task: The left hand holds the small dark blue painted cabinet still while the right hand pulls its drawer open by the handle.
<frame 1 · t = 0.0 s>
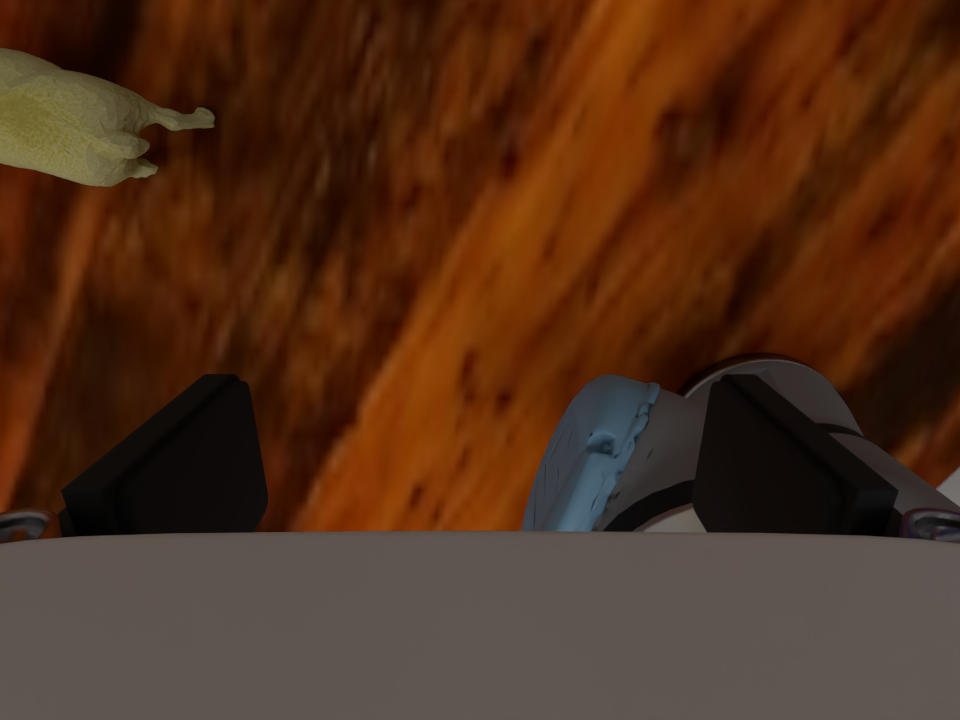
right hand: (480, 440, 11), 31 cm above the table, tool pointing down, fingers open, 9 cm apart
toy: (90, 112, 37), on the table
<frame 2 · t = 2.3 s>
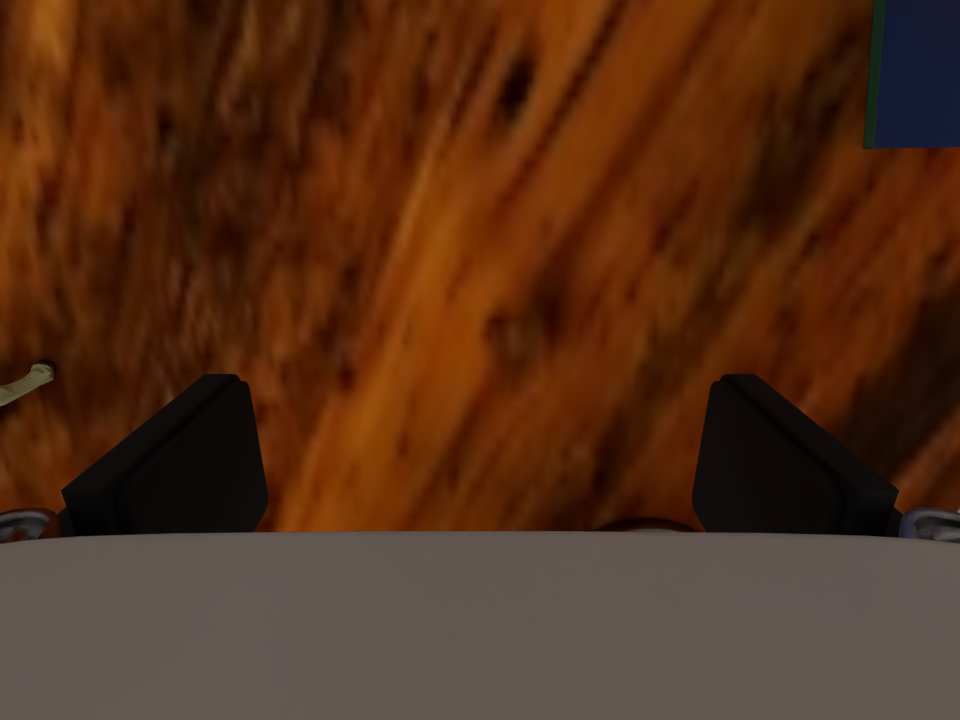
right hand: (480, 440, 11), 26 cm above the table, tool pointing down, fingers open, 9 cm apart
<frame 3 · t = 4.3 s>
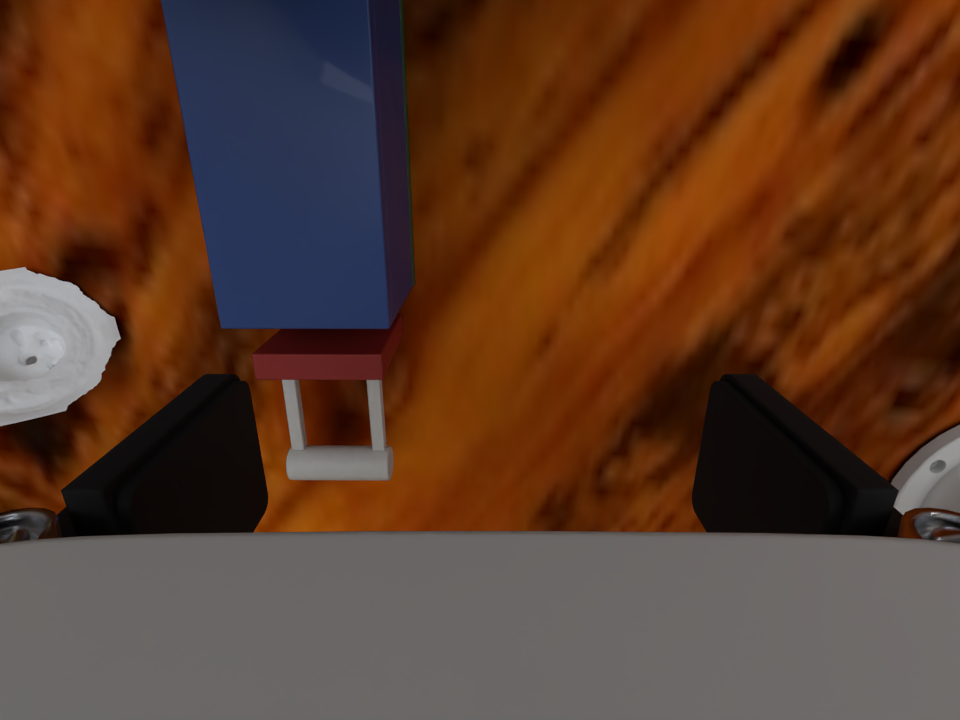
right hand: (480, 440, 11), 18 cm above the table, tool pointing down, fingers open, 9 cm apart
seashell: (59, 325, 30), on the table
cabinet: (336, 99, 25), on the table, touching left hand
drawer: (326, 245, 24), point 4 cm above the table, slide at 1.4 cm
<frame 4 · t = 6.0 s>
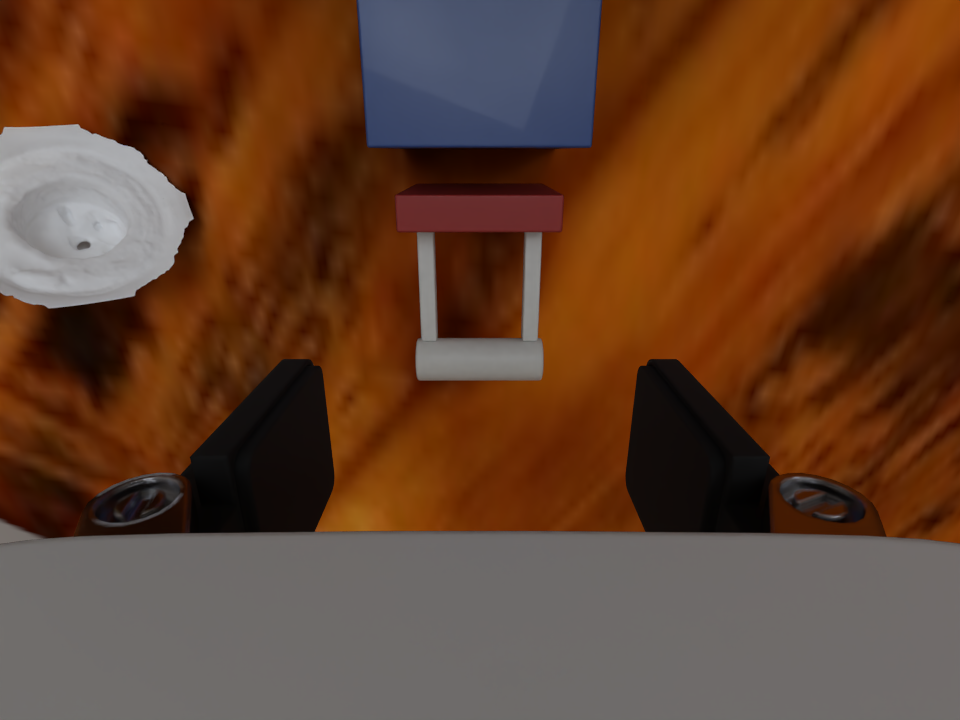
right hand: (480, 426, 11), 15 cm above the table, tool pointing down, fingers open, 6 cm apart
seashell: (116, 206, 24), on the table
drawer: (479, 67, 19), point 4 cm above the table, slide at 1.4 cm
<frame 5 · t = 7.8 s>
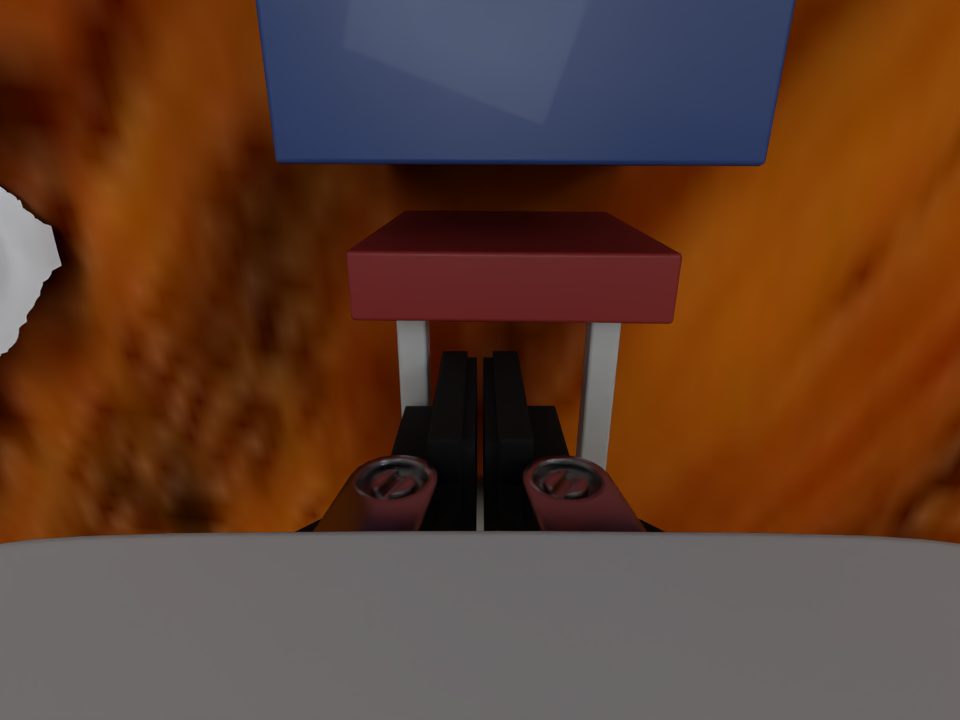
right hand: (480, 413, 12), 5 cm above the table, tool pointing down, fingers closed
drawer: (513, 7, 10), point 4 cm above the table, slide at 1.3 cm, touching right hand
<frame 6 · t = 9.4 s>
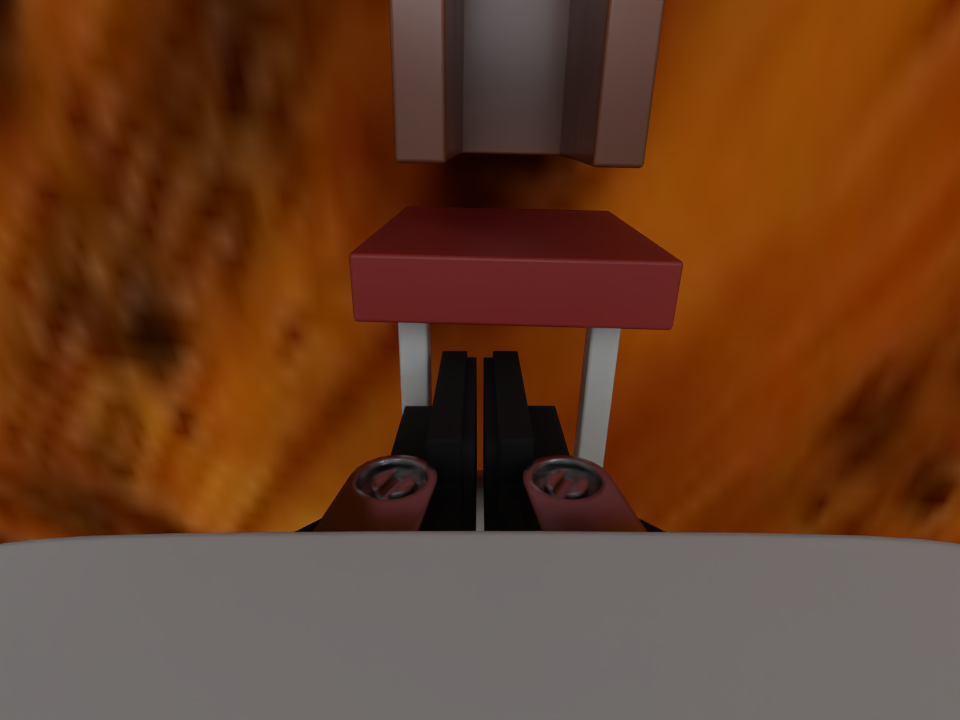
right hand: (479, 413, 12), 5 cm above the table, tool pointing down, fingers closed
drawer: (519, 6, 10), point 4 cm above the table, slide at 8.0 cm, touching right hand
when the left hand's fingers open (2 cm above the table, at t = 10.9 s): cabinet stays where it is, on the table.
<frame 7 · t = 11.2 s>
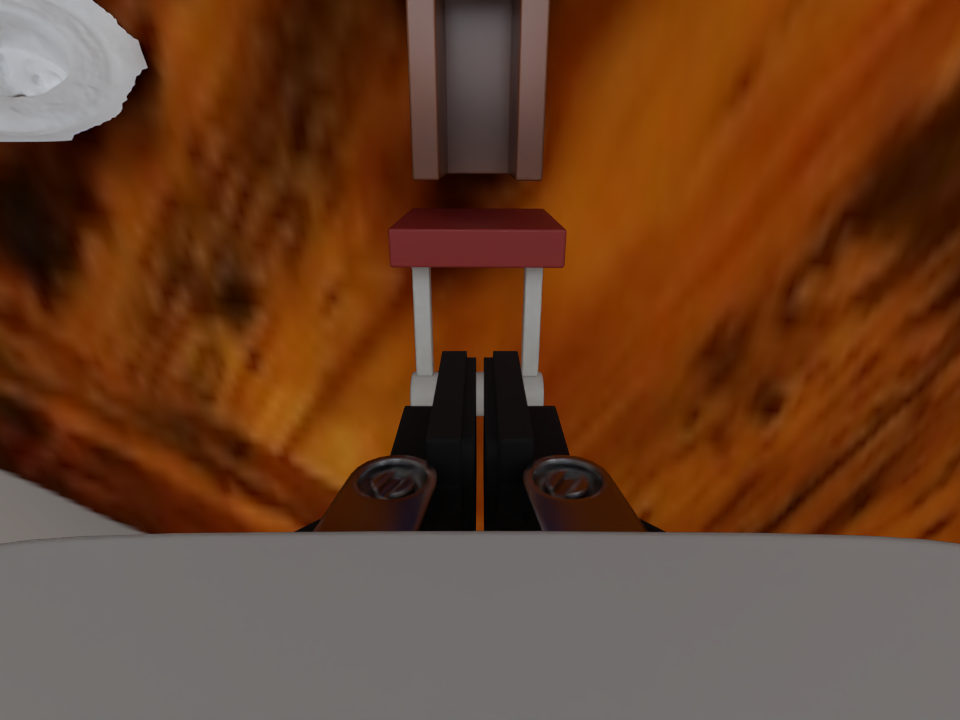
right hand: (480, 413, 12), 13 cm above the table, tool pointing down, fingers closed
seashell: (59, 58, 21), on the table
drawer: (478, 92, 18), point 4 cm above the table, slide at 7.9 cm
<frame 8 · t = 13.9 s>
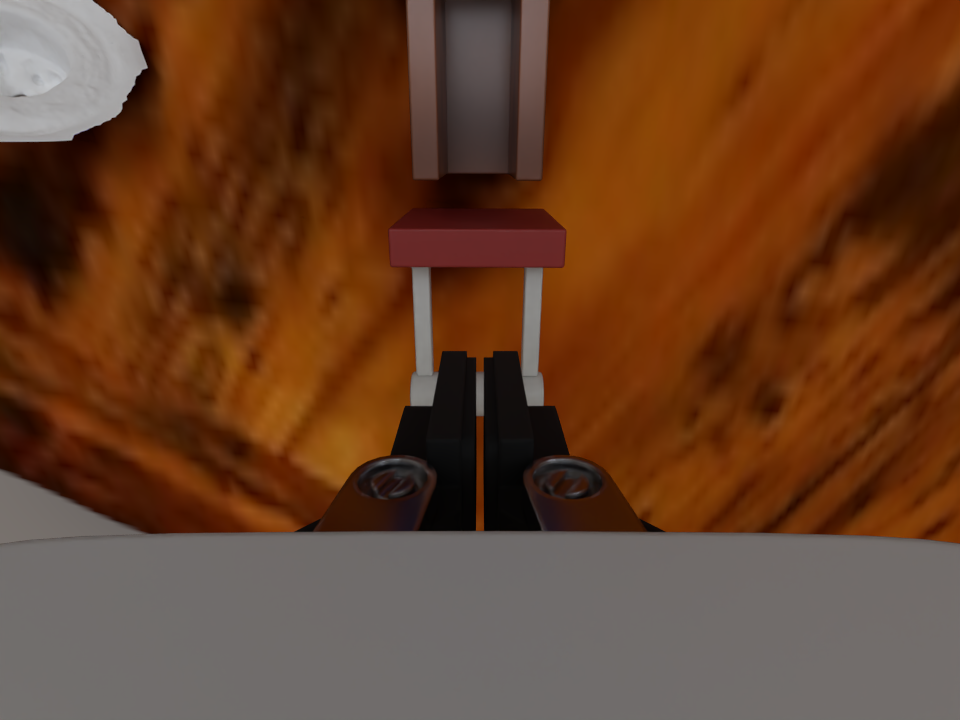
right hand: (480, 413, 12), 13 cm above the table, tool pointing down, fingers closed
seashell: (59, 58, 21), on the table
drawer: (478, 92, 18), point 4 cm above the table, slide at 7.9 cm
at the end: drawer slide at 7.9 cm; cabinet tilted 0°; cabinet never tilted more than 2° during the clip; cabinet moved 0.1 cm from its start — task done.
